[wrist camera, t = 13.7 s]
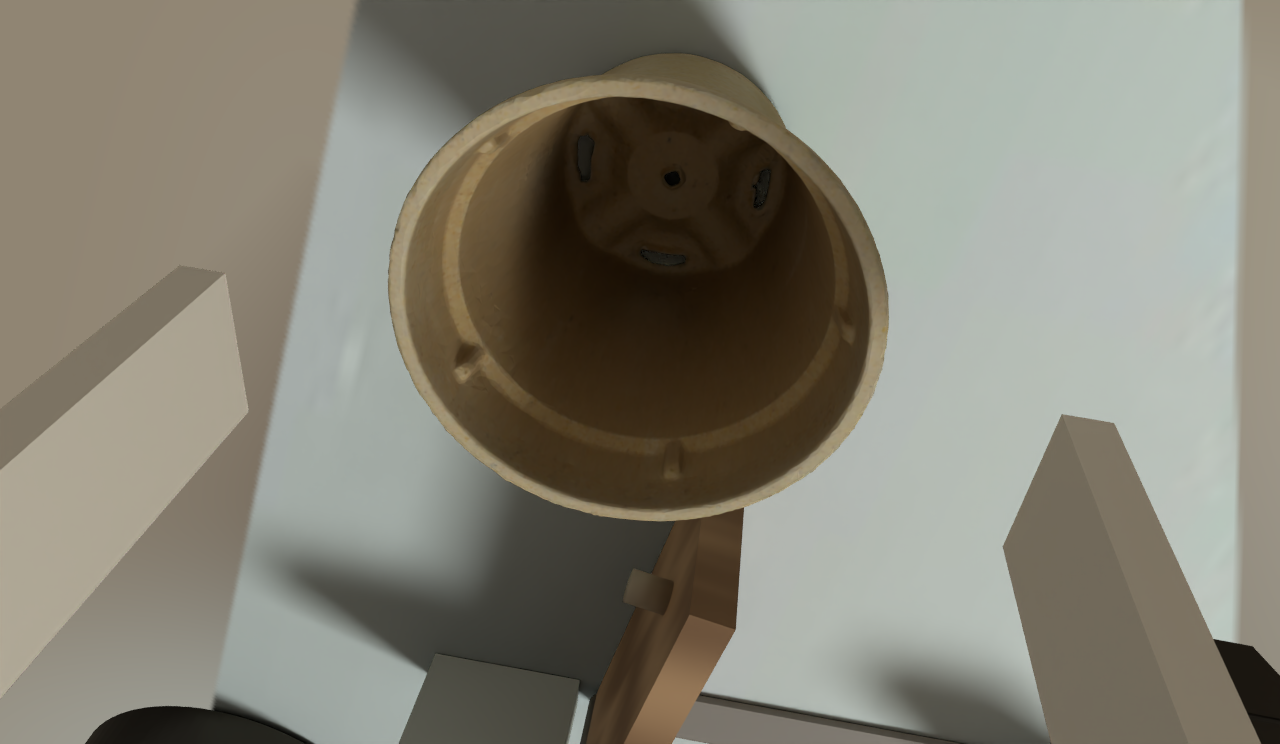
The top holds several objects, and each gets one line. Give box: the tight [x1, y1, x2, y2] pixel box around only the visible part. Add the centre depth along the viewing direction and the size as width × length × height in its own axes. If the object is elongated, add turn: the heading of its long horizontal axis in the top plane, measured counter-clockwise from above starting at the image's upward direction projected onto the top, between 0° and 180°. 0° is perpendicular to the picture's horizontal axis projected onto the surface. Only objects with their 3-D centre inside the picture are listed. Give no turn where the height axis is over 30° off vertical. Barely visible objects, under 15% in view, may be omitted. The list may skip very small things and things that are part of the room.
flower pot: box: [388, 53, 889, 521], centre depth 21 cm, size 9×9×9 cm
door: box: [580, 507, 744, 744], centre depth 29 cm, size 14×2×8 cm, turn 163°
